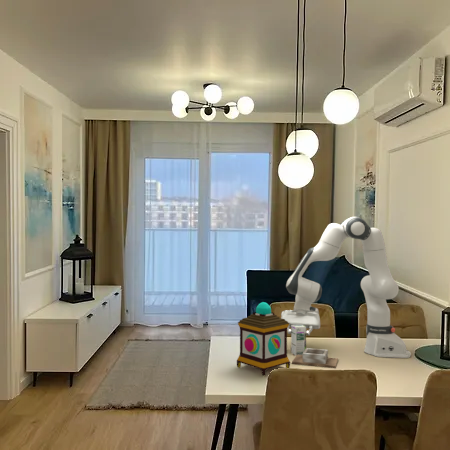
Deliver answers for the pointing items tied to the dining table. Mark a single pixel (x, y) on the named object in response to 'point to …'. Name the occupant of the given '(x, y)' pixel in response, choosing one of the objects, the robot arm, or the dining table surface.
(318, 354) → the collar base
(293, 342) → the syrup box
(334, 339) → the dining table surface
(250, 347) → the decorative lantern
